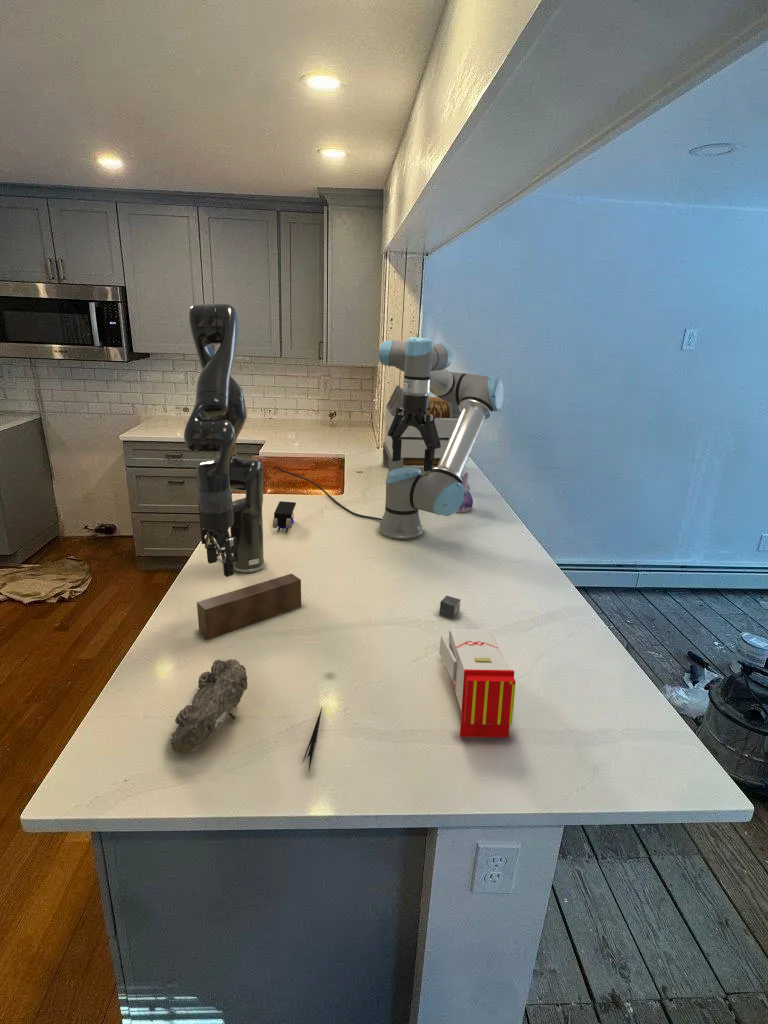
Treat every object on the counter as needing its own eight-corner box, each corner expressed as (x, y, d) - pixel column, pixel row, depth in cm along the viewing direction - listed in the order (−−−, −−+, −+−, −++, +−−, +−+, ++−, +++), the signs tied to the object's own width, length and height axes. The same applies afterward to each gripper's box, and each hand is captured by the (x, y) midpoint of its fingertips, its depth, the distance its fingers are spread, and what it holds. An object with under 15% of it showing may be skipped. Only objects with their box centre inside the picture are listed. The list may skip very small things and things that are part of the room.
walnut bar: (207, 639, 133) (204, 609, 130) (198, 631, 136) (196, 602, 133) (301, 607, 149) (301, 579, 146) (292, 600, 152) (291, 573, 149)
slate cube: (439, 615, 148) (440, 601, 147) (445, 608, 151) (446, 595, 150) (453, 619, 146) (454, 605, 145) (459, 612, 149) (460, 599, 148)
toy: (489, 613, 130) (525, 677, 101) (485, 667, 133) (518, 744, 104) (437, 612, 130) (457, 676, 101) (434, 666, 133) (453, 743, 103)
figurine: (459, 514, 221) (463, 477, 216) (445, 506, 229) (448, 470, 224) (479, 511, 225) (483, 475, 220) (464, 503, 234) (467, 468, 228)
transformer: (381, 463, 289) (385, 382, 275) (444, 464, 292) (450, 384, 279) (389, 482, 257) (393, 392, 243) (459, 483, 261) (467, 394, 247)
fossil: (195, 660, 117) (247, 628, 112) (227, 691, 120) (279, 661, 115) (146, 746, 98) (206, 711, 93) (185, 779, 101) (245, 748, 96)
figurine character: (291, 538, 195) (297, 518, 208) (291, 518, 192) (296, 500, 205) (272, 537, 195) (278, 518, 208) (271, 518, 191) (277, 499, 205)
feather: (331, 679, 122) (336, 673, 122) (307, 777, 96) (313, 769, 95) (324, 675, 122) (329, 669, 121) (298, 772, 95) (304, 764, 95)
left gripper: (186, 500, 132) (193, 562, 138) (214, 519, 123) (219, 585, 129) (216, 494, 137) (221, 554, 143) (245, 511, 127) (249, 575, 133)
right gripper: (378, 389, 169) (375, 458, 176) (438, 401, 151) (432, 477, 158) (396, 387, 173) (393, 455, 181) (457, 399, 156) (450, 473, 163)
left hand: (220, 568), depth 136 cm, fingers open, 8 cm apart
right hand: (411, 465), depth 170 cm, fingers open, 13 cm apart
